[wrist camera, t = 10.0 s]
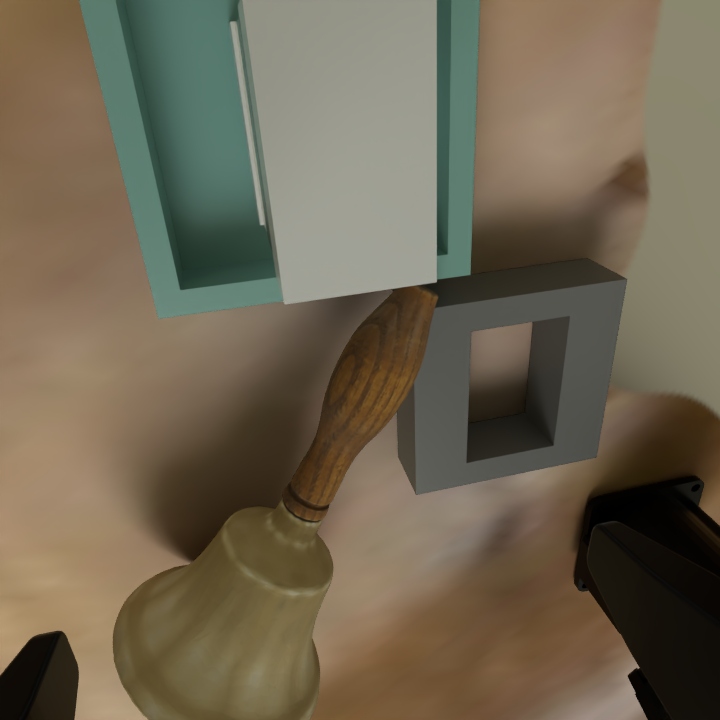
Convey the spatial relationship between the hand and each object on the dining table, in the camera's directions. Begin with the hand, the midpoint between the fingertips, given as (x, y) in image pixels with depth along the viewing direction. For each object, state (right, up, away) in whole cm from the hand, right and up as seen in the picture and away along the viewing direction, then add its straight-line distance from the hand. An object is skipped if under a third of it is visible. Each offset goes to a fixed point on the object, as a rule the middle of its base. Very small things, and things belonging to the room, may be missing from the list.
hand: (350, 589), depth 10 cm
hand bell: (-5, -8, +12) cm, 16 cm away
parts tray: (-2, +11, +8) cm, 14 cm away
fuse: (-2, +11, +8) cm, 14 cm away
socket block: (+6, +4, +14) cm, 16 cm away
